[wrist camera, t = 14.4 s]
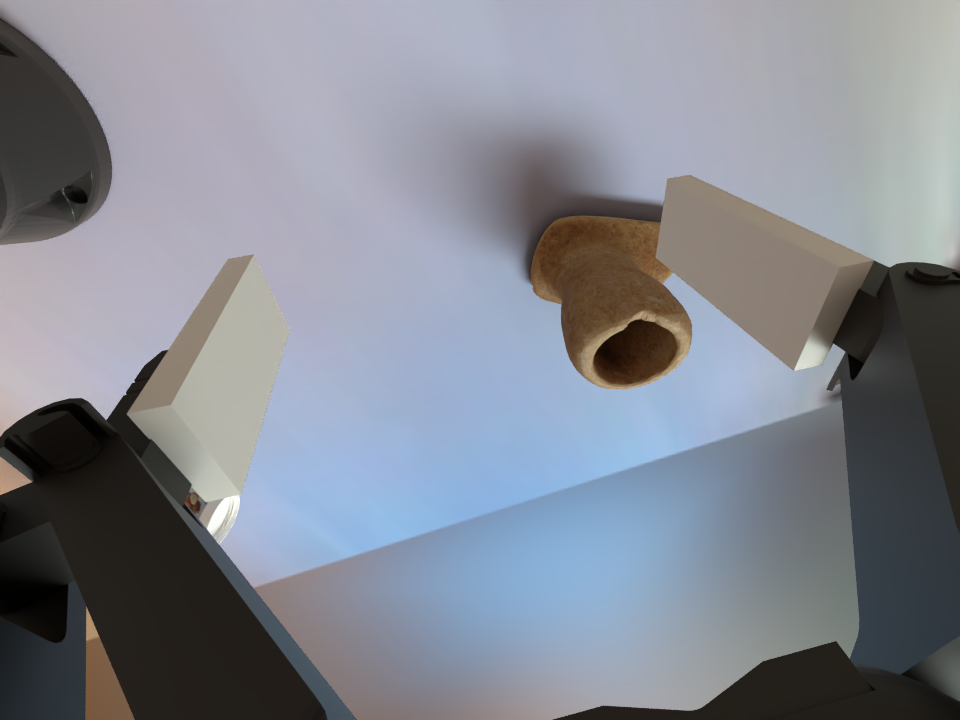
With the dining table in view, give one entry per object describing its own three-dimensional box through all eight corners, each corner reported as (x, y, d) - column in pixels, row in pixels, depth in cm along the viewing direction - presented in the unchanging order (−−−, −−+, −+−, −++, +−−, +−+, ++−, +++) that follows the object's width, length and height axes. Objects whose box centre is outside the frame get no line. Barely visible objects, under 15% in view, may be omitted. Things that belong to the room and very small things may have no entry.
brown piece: (514, 310, 48) (558, 401, 36) (542, 201, 41) (608, 270, 29) (634, 318, 51) (709, 403, 40) (678, 220, 45) (785, 287, 33)
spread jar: (110, 477, 51) (52, 573, 42) (201, 450, 51) (163, 540, 42) (176, 528, 59) (140, 619, 50) (256, 504, 59) (234, 590, 50)
